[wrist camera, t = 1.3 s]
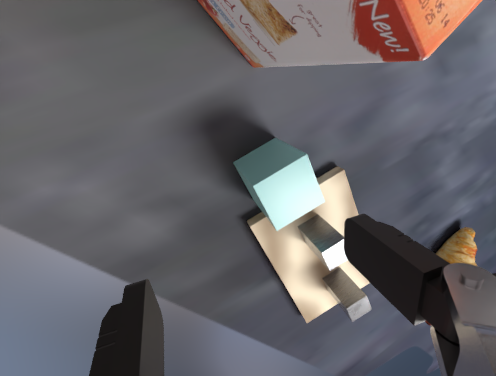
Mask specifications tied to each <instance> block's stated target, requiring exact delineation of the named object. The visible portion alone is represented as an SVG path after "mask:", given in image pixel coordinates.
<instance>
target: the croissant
mask: <svg viewBox="0 0 496 376" xmlns="http://www.w3.org/2000/svg"><path fill="white" fill-rule="evenodd" d="M474 236H475V231H474V230H473V229H472V228H467V227H464V228H462V229H460V230H459V231H457V232H456V233H454V234H453V235H452V236H451V237H450V238H449V239H448V240H447V241H446V242H445V243H444V244H443V245H442V247H441V248H440V249H439V250H438V251H437V252H436V253H435V254H436V255H438V256H439V257H441V258H443V259H444V260H446V261H447V262H449V263H450V264H452V263H467V264H471V265H475V266H477V265H476V263H475V255H476V251H477V247H476V244H475V242H474V241H473V238H474ZM425 322H426V323H427V324H428V325H431V324H430V323H429V322H427V321H425Z"/></svg>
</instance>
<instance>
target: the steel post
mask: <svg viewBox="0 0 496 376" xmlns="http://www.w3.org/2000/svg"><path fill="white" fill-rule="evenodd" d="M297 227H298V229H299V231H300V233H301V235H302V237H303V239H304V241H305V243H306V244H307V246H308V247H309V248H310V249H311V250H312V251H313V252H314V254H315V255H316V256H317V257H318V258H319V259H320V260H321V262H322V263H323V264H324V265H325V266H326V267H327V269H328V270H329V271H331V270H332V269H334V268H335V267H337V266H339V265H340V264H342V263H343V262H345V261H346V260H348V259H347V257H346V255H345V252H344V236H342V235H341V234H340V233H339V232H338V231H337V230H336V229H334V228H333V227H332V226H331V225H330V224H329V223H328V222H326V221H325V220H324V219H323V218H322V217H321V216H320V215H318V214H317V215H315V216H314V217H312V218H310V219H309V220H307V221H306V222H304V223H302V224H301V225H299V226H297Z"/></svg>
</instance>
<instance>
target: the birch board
mask: <svg viewBox="0 0 496 376" xmlns="http://www.w3.org/2000/svg"><path fill="white" fill-rule="evenodd" d="M317 182H318V184H319V187H320V189H321V192H322V195H323V197H324V200H325V202H324V203H322V204H321V205H319V206H317V207H316V208H314V209H312V210H311V211H309V212H308V213H306V214H304V215H303V216H301V217H299V218H298V219H296V220H294V221H293V222H291V223H290V224H288V225H286V226H285V227H283V228H281V229H280V230H278V231H276V229H275V228H274V227H273V225H272V224H271V223H270V221H269V220H268V219H267V217H266V216H265V215H264V213H263V212H261V213H259V214H257V215H256V216H254V217H252V218H251V219H249V220H247V223H248V224H249V226H250V228H251V229H252V231H253V233H254V234H255V236H256V238H257V240H258V241H259V243H260V245H261V246H262V248H263V250H264V251H265V253H266V255H267V256H268V258H269V260H270V261H271V263H272V265H273V267H274V268H275V270H276V272H277V273H278V275H279V277H280V278H281V280H282V282H283V283H284V285H285V287H286V288H287V290H288V292H289V293H290V295H291V297H292V299H293V300H294V302H295V304H296V305H297V307H298V309H299V310H300V312H301V314H302V315H303V317H304V319H305V320H306V322H307V323H308V322H310V321H311V320H313V319H314V318H316V317H318V316H319V315H321V314H322V313H324V312H325V311H327V310H328V309H330V308H331V307H333V306H335V305H336V304H338V303H337V302H336V300H335V299H334V298H333V296H332V295H331V294H330V293H329V291H328V290H327V287H326V285H325V283H324V281H323V279H322V278H323V277H325V276H326V275H328V274H330V273H331V272H333V271H334V270H336V269H337V268H339V267H340V268H341V269H342V270H343V271H344V272H345V273H346V274H347V275H348V276H349V277H350V278H351V279H352V281H353V282H354V283H355V284H356V285H357V286H358V287H359V288H360V289H361V288H362V287H364V286H366V285H367V284H369V283H370V282H369V281H368V280H367V279H366V278H365V277H364V276H363V275H362V274H361V273H360V272H359V271H358V270H357V269H356V268H355V267H354V266H353V265H352V264H351V263H350V262H349V261H348V260H346V261H345V262H343V263H342V264H340V265H339V266H337V267H335V268H334V269H332V270H331V271H329V270H328V269H327V267H326V266H325V265H324V264H323V263H322V262H321V260H320V259H319V258H318V257H317V256H316V255H315V254H314V252H313V251H312V250H311V249H310V248H309V247H308V246H307V244H306V243H305V241H304V239H303V237H302V235H301V233H300V231H299V229H298V227H297V226H299V225H301V224H302V223H304V222H306V221H307V220H309V219H310V218H312V217H314V216H315V215H317V214H318V215H320V216H321V217H322V218H323V219H324V220H325V221H326V222H328V223H329V224H330V225H331V226H332V227H333V228H334V229H336V230H337V231H338V232H339V233H340V234H341V235H342V236H344V223H345V220H346V219H347V218H351V217H354V216H357V215H358V212H357V209H356V205H355V202H354V199H353V196H352V193H351V190H350V187H349V183H348V180H347V177H346V174H345V171H344V169H342V168H340V167H338V166H337V167H335V168H333V169H332V170H330V171H329V172H327V173H325V174H324V175H322V176H320V177H319V178H317Z"/></svg>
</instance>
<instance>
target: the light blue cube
mask: <svg viewBox="0 0 496 376" xmlns="http://www.w3.org/2000/svg"><path fill="white" fill-rule="evenodd" d="M233 164H234V165H235V167H236V169H237V171H238V173H239V174H240V176H241V178H242V180H243V182H244V184H245V185H246V187H247V189H248V191H249V193H250V194H251V196H252V198H253V200H254V201H255V203H256V204H257V205H258V207H259V208H260V209H261V211H262V212H263V213H264V215H265V216H266V217H267V219H268V220H269V221H270V223H271V224H272V225H273V227H274V228H275V229H276V231H278V230H280V229H281V228H283V227H285V226H286V225H288V224H290V223H291V222H293V221H294V220H296V219H298V218H299V217H301V216H303V215H304V214H306V213H308V212H309V211H311V210H312V209H314V208H316V207H317V206H319V205H321V204H322V203H324V202H325V200H324V197H323V195H322V192H321V189H320V187H319V184H318V182H317V179H316V176H315V174H314V171H313V169H312V166H311V163H310V161H309V158H308V156H307V154H306V153H304V152H302V151H300V150H298V149H296V148H294V147H292V146H291V145H289V144H287V143H285V142H283V141H281V140H279V139H277V138H274V139H272V140H270V141H269V142H267V143H265V144H264V145H262V146H260V147H258V148H257V149H255V150H253V151H252V152H250V153H248V154H246V155H245V156H243V157H241V158H240V159H238V160H236V161H234V162H233Z"/></svg>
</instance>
